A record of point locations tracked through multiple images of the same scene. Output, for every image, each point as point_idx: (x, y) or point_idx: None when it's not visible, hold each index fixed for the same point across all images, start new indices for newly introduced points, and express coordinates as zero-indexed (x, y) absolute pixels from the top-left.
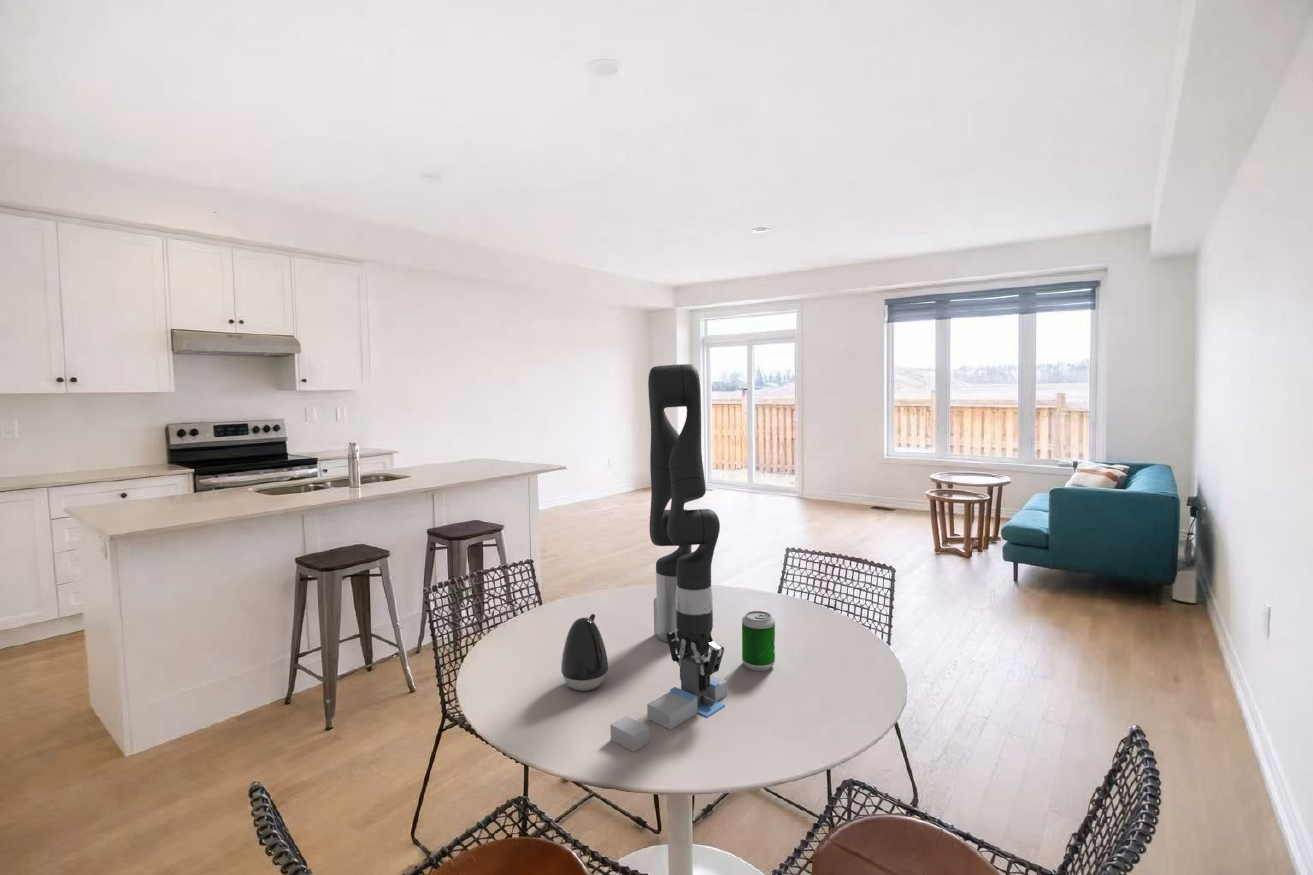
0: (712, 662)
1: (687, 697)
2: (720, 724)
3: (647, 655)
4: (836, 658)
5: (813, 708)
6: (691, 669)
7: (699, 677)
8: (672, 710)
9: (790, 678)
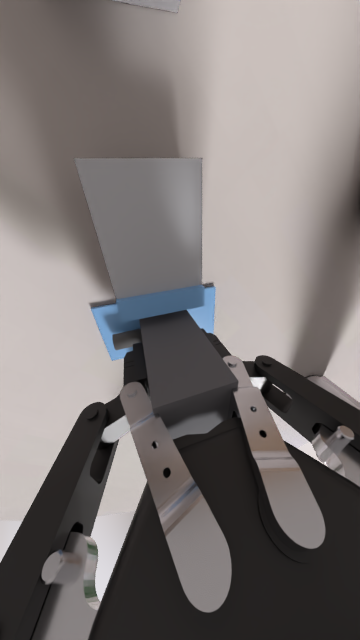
0: (51, 490)
1: (137, 297)
2: (40, 311)
3: (312, 345)
4: (129, 489)
5: (17, 454)
6: (170, 374)
7: (144, 369)
8: (101, 199)
9: (124, 451)
